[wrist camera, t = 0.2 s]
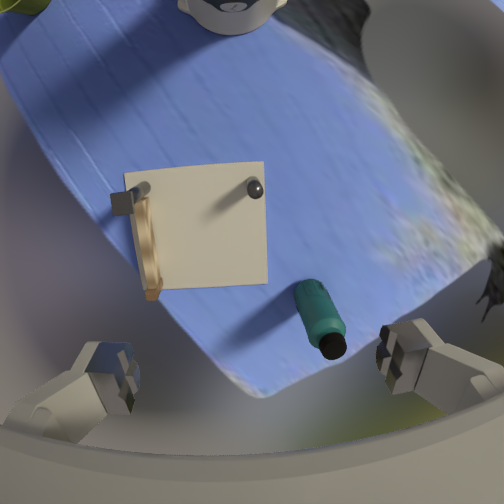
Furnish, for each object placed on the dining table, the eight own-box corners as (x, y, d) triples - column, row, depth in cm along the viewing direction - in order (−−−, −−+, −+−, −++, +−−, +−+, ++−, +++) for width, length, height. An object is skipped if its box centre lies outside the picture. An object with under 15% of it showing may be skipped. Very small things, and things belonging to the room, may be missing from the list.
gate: (139, 197, 54) (129, 205, 48) (150, 196, 54) (141, 204, 48) (153, 285, 60) (146, 300, 55) (163, 284, 60) (157, 300, 55)
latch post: (245, 176, 55) (247, 183, 47) (259, 175, 55) (263, 183, 47) (245, 189, 55) (247, 199, 48) (259, 189, 55) (263, 198, 48)
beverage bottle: (286, 298, 64) (305, 364, 45) (300, 269, 62) (326, 329, 43) (315, 306, 65) (342, 371, 46) (329, 279, 63) (363, 338, 44)
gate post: (135, 179, 54) (109, 194, 42) (152, 177, 54) (130, 191, 42) (137, 197, 55) (113, 216, 43) (154, 195, 55) (133, 214, 43)
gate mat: (124, 173, 53) (124, 173, 53) (263, 161, 54) (263, 161, 53) (143, 289, 61) (143, 290, 61) (267, 282, 62) (267, 283, 62)
